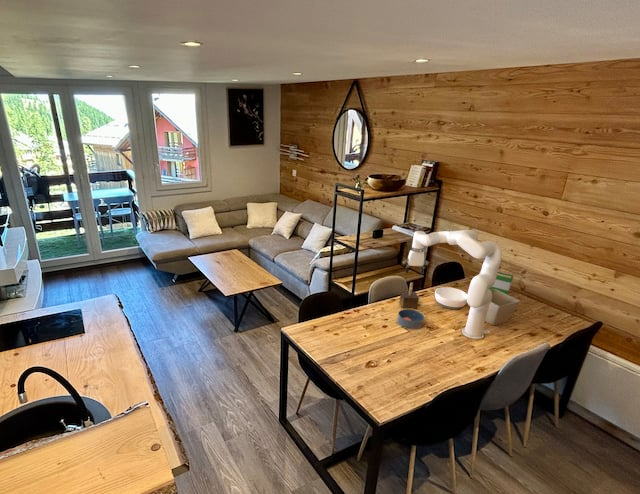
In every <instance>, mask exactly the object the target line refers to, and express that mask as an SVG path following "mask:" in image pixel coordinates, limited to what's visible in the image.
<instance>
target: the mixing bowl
mask: <svg viewBox="0 0 640 494" xmlns="http://www.w3.org/2000/svg"><path fill="white" fill-rule="evenodd" d="M406 317H408V318H409V319H411V321H409V320H406V319H403V318H406ZM396 322H397V324H398V325H399V326H401V327H403V328H405V329H409V330H418V329H421V328H423V327H424V323H425V316H424V314H423V313H421V312H420V311H417V310H416V309H407V308H403V309H400V310H399V311H398V312H397V319H396Z"/></svg>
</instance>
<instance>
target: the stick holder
mask: <svg viewBox="0 0 640 494" xmlns="http://www.w3.org/2000/svg"><path fill="white" fill-rule="evenodd" d="M419 300H420V298H419V296H418V294H417V292H416V291H412V293H411V296H409V290H408V291H406V290H400V295H399V302H398V303H399V305H400V307H401V309H410V310H418V306H419Z"/></svg>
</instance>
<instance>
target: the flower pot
mask: <svg viewBox="0 0 640 494" xmlns="http://www.w3.org/2000/svg"><path fill="white" fill-rule="evenodd" d="M490 291H491V292H492V300H491V303H490V305H489V308H488V311H487V315H486V319H485V322H486V323H487V324H489V325H491V326H497V325H501V324H504V323H506V322H508V321H509V319H510V318H511V316H512V315H513V314H514V312H515V311H516V309H517V307H518V306H519V304H520V301H521V300H520V299H518V298H515V297H513V296H511V295H509V294H508V295H507V294H505V293H502V292H500V291H498V290H496V289H493V290H490Z"/></svg>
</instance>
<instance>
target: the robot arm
mask: <svg viewBox="0 0 640 494" xmlns="http://www.w3.org/2000/svg"><path fill="white" fill-rule="evenodd" d="M478 239H479V234H478V232H477V231H476V230H474V229H460V230H444V231H443V230H442V231H434V232H430V233H426V231H423V230H415V231H414V232H413V238H412V243H411V249H410V250H409V253H408V256H407V258H406V259H404V260H402V264H403V266H404V267H405V274H409V269H410V266H411V267H420V270H419V273H420V275H423V273H424V269H426V268H427V267H428V265H429V264H430V262H429V261H428V260H426V259H425V251H426V250H427V248H426V247H431V246H434V245H437V244H445V243H447V244H448V245H450V246H457V245H458V247H460V248H461V249H462V250H463V251H465V252H466V253H467V254H469V255H470V256H471V257H473V258H474V259H477V260H482V259H484V260H483V263H482V266H481V269H480V272H479V274H476V275H475V276H474V277H473V278H472V279H471V281H470V284H469V287H468V291H467V303H466V304H467V305H468V306H469V307H470V308H469V311H468V315H467V319H466V325H465V327H463V328H462V329H461V333H462V335H463V336H465V337H466V338H469V339H472V340H483V339H484V337H485V334H487V335H488V334H491V330H488V329H487V328H484V327H485V322H486V321H485V319H486V315H487V311H488V308H489V305H490V303H491V300H492V292H491V291H490V290H489V289H488V288H490V287H492V286H493V285H494V283H495V280H496V276H497V273H498V272H499V270H500V266H501V262H502V259H503V258H502V257H503V253H502V248H501V247H500V246H499V245H498V244H497V242H495V241H493V240H485V241H482V242H478V241H477V240H478Z"/></svg>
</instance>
